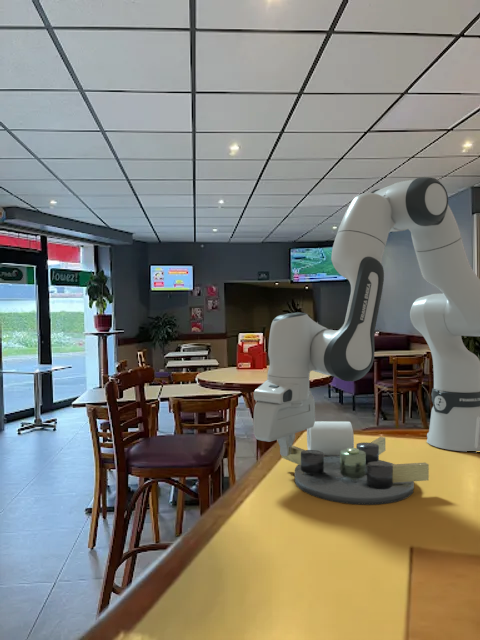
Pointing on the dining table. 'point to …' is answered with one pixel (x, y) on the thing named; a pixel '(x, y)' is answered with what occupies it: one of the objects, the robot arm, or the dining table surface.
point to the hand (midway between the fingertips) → (285, 455)
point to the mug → (330, 437)
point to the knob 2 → (372, 449)
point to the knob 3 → (395, 473)
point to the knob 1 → (307, 459)
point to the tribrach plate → (349, 481)
